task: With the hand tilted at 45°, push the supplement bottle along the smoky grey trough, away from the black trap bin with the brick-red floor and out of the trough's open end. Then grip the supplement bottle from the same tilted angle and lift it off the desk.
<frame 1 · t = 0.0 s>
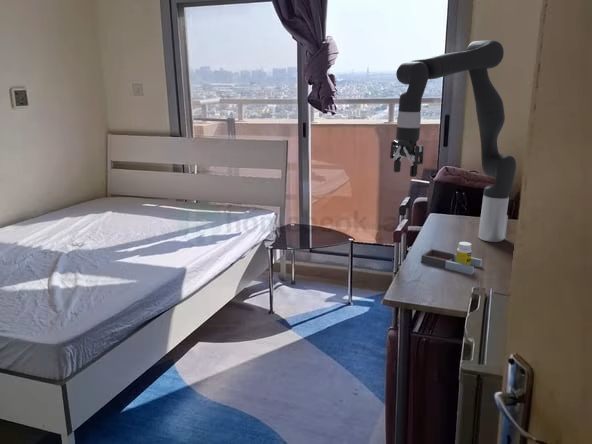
hand: (404, 174, 173), 29 cm above the table, tool pointing down, fingers open, 8 cm apart
trap bin: (438, 258, 176), on the table
trough: (460, 266, 172), on the table
supplement bottle: (462, 267, 172), on the table
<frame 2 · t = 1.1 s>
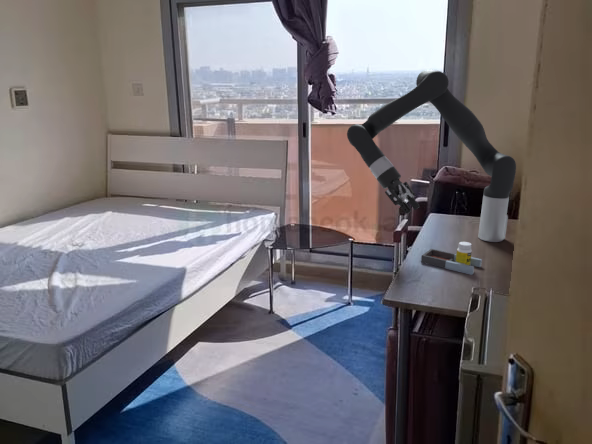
hand: (413, 210, 177), 16 cm above the table, tool tilted 45°, fingers open, 6 cm apart
nothing on the table moved.
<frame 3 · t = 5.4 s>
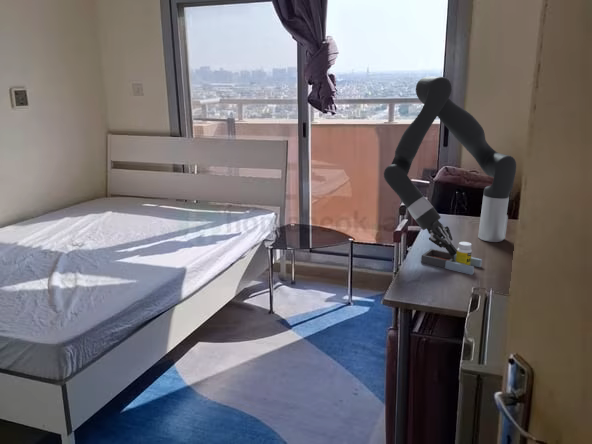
hand: (455, 254, 172), 4 cm above the table, tool tilted 45°, fingers closed
supplement bottle: (462, 267, 172), on the table, touching gripper
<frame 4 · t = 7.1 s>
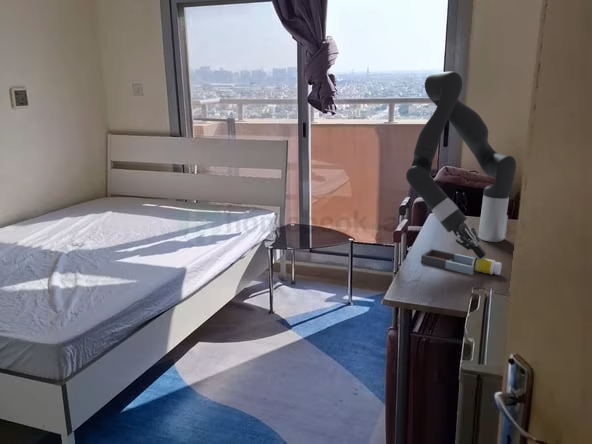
hand: (483, 256, 167), 5 cm above the table, tool tilted 45°, fingers closed
supplement bottle: (473, 263, 169), point 2 cm above the table, touching gripper
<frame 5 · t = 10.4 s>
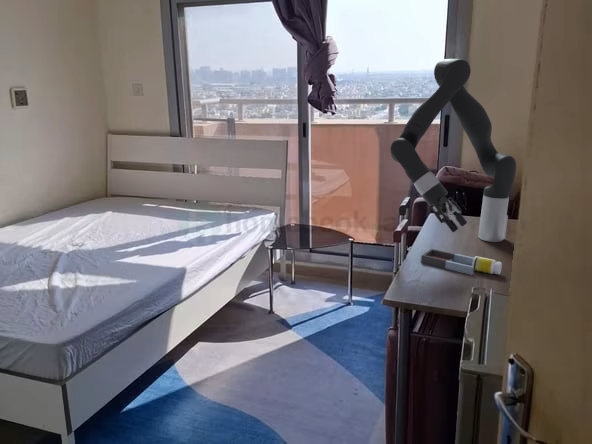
hand: (460, 227, 169), 13 cm above the table, tool tilted 45°, fingers open, 8 cm apart
supplement bottle: (473, 262, 169), point 2 cm above the table
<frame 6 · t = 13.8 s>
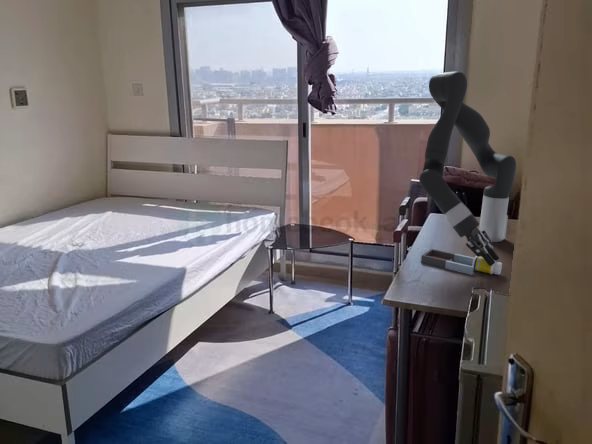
hand: (494, 262, 165), 4 cm above the table, tool tilted 45°, fingers closed on supplement bottle, 4 cm apart
supplement bottle: (473, 262, 169), point 2 cm above the table, touching gripper
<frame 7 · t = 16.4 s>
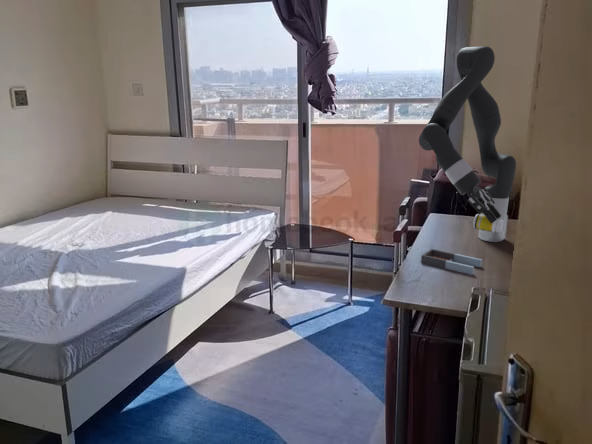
hand: (496, 219, 162), 18 cm above the table, tool tilted 45°, fingers closed on supplement bottle, 4 cm apart
supplement bottle: (474, 220, 166), point 17 cm above the table, touching gripper
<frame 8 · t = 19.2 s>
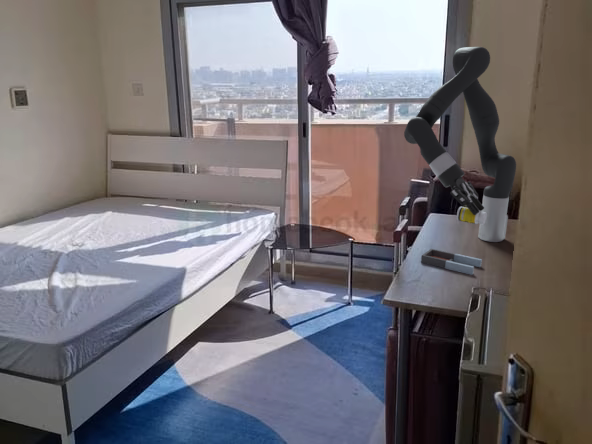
hand: (479, 211, 164), 20 cm above the table, tool tilted 45°, fingers closed on supplement bottle, 4 cm apart
supplement bottle: (458, 213, 168), point 18 cm above the table, touching gripper
at the end: the gripper is holding supplement bottle; supplement bottle point 18.2 cm above the table; supplement bottle touching gripper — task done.
